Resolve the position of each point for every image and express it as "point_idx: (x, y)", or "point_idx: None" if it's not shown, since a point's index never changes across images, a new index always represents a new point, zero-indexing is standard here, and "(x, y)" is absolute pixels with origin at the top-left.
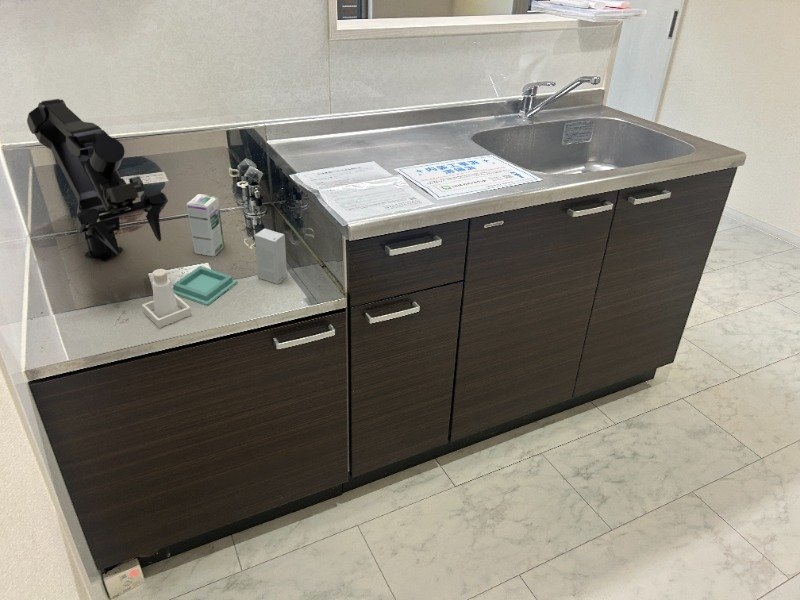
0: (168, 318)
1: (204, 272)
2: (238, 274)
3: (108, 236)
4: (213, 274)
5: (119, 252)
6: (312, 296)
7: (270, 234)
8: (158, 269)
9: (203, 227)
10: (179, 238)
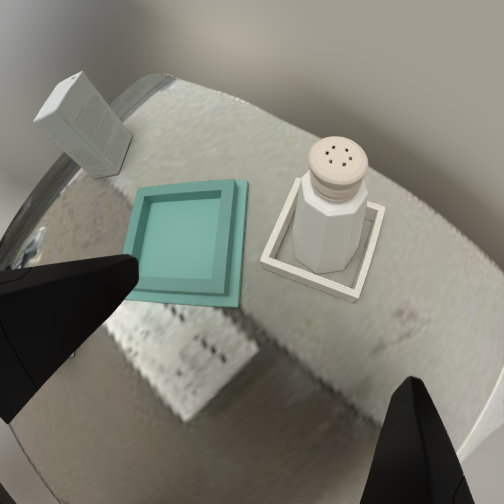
0: None
1: None
2: (114, 213)
3: (451, 495)
4: (138, 235)
5: (410, 377)
6: (154, 88)
7: (56, 94)
8: (327, 169)
9: None
10: (52, 419)
